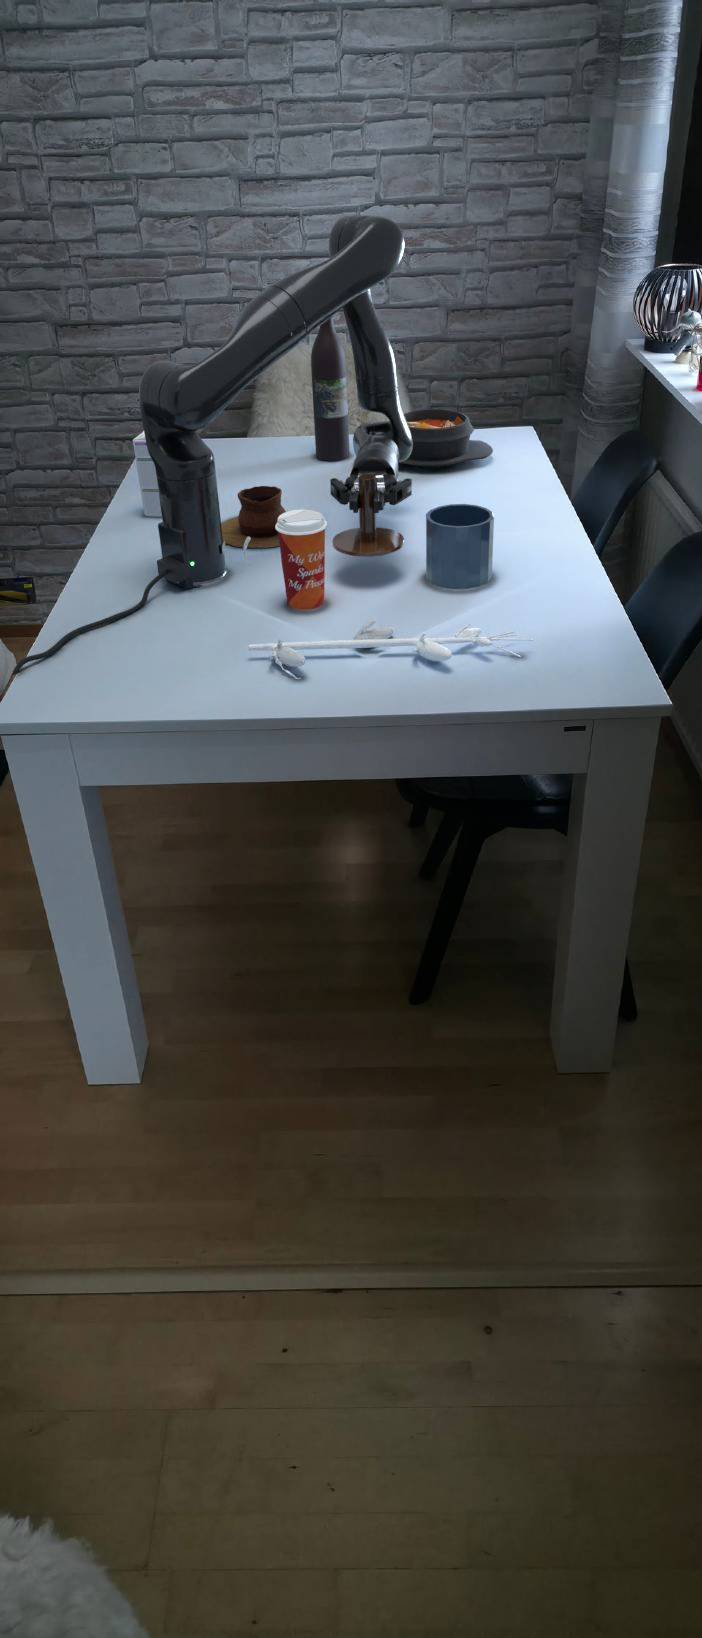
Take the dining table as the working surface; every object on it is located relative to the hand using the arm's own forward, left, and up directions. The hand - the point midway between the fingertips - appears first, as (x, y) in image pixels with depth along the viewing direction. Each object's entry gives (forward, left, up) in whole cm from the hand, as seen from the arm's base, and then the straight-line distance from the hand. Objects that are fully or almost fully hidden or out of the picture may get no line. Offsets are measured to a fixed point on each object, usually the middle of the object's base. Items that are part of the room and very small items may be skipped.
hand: (365, 506), depth 171 cm
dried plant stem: (-16, -20, -13) cm, 29 cm away
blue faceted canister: (+11, -9, -13) cm, 19 cm away
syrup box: (-1, +54, -13) cm, 55 cm away
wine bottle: (+43, +54, -13) cm, 70 cm away
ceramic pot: (+5, +32, -13) cm, 35 cm away
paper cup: (-12, +2, -13) cm, 18 cm away
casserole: (+54, +36, -13) cm, 66 cm away
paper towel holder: (+2, +2, -7) cm, 7 cm away
